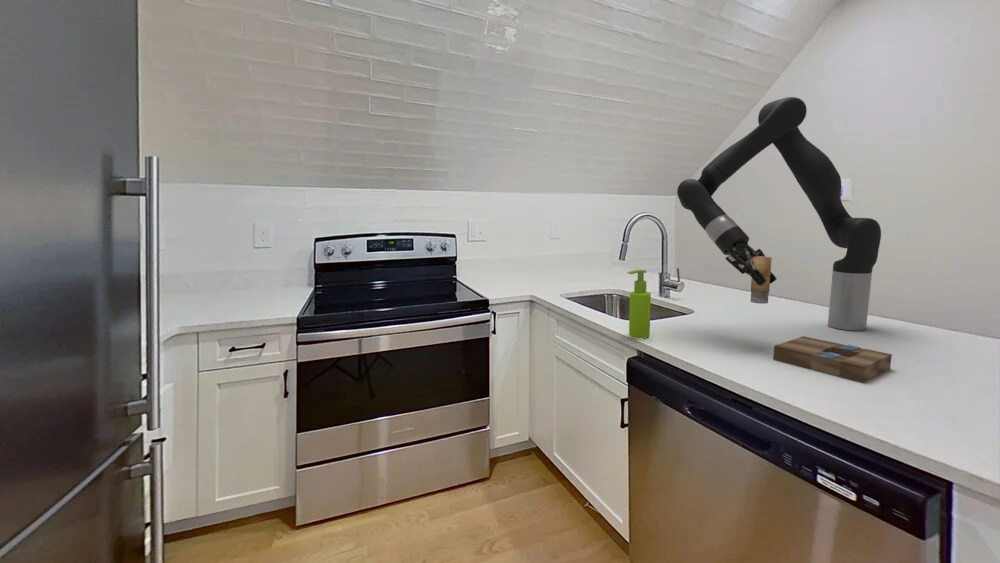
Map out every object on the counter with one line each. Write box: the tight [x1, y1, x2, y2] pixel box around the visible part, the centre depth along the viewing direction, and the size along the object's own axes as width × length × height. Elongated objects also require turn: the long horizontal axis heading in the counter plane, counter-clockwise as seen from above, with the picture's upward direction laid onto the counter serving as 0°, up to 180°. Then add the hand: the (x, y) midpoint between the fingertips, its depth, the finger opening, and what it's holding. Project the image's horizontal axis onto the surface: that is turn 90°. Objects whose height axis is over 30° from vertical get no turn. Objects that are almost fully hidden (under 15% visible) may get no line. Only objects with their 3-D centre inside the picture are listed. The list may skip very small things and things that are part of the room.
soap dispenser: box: [627, 269, 652, 339], centre depth 127 cm, size 6×7×20 cm
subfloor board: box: [772, 335, 892, 384], centre depth 101 cm, size 14×18×4 cm
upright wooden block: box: [750, 256, 772, 305], centre depth 113 cm, size 4×4×12 cm
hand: (768, 282), depth 112 cm, fingers closed on upright wooden block, 4 cm apart
